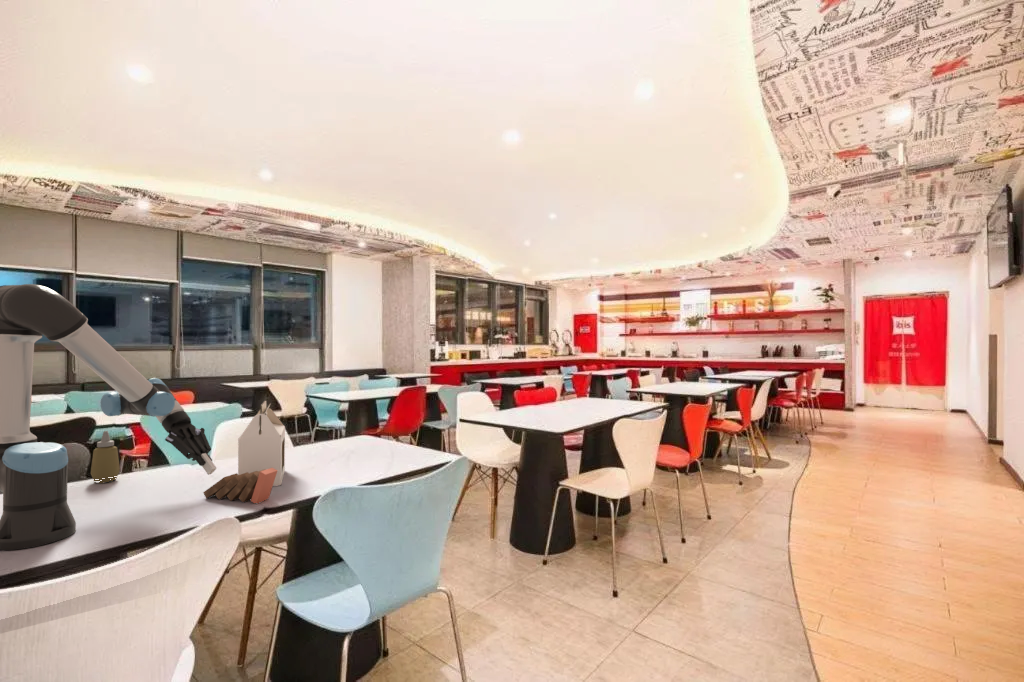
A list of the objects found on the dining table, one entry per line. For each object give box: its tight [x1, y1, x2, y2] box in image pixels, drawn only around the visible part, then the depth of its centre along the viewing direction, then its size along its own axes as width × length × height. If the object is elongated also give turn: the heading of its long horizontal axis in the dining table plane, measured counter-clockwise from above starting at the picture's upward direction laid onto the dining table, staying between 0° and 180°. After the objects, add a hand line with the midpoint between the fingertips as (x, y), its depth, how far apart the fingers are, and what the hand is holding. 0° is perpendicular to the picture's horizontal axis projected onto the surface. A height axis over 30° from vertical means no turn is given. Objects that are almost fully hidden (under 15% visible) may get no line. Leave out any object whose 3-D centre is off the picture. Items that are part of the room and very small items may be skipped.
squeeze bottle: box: [90, 430, 121, 484], centre depth 174 cm, size 8×8×18 cm
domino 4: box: [239, 469, 266, 503], centre depth 153 cm, size 2×5×10 cm
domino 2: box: [215, 472, 249, 500], centre depth 156 cm, size 2×5×10 cm
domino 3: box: [226, 471, 258, 502], centre depth 154 cm, size 2×5×10 cm
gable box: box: [237, 400, 286, 487], centre depth 177 cm, size 22×13×28 cm, turn 22°
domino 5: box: [250, 468, 278, 504], centre depth 152 cm, size 2×5×10 cm, turn 164°
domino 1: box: [202, 472, 238, 499], centre depth 157 cm, size 2×5×10 cm
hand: (212, 471), depth 158 cm, fingers closed
